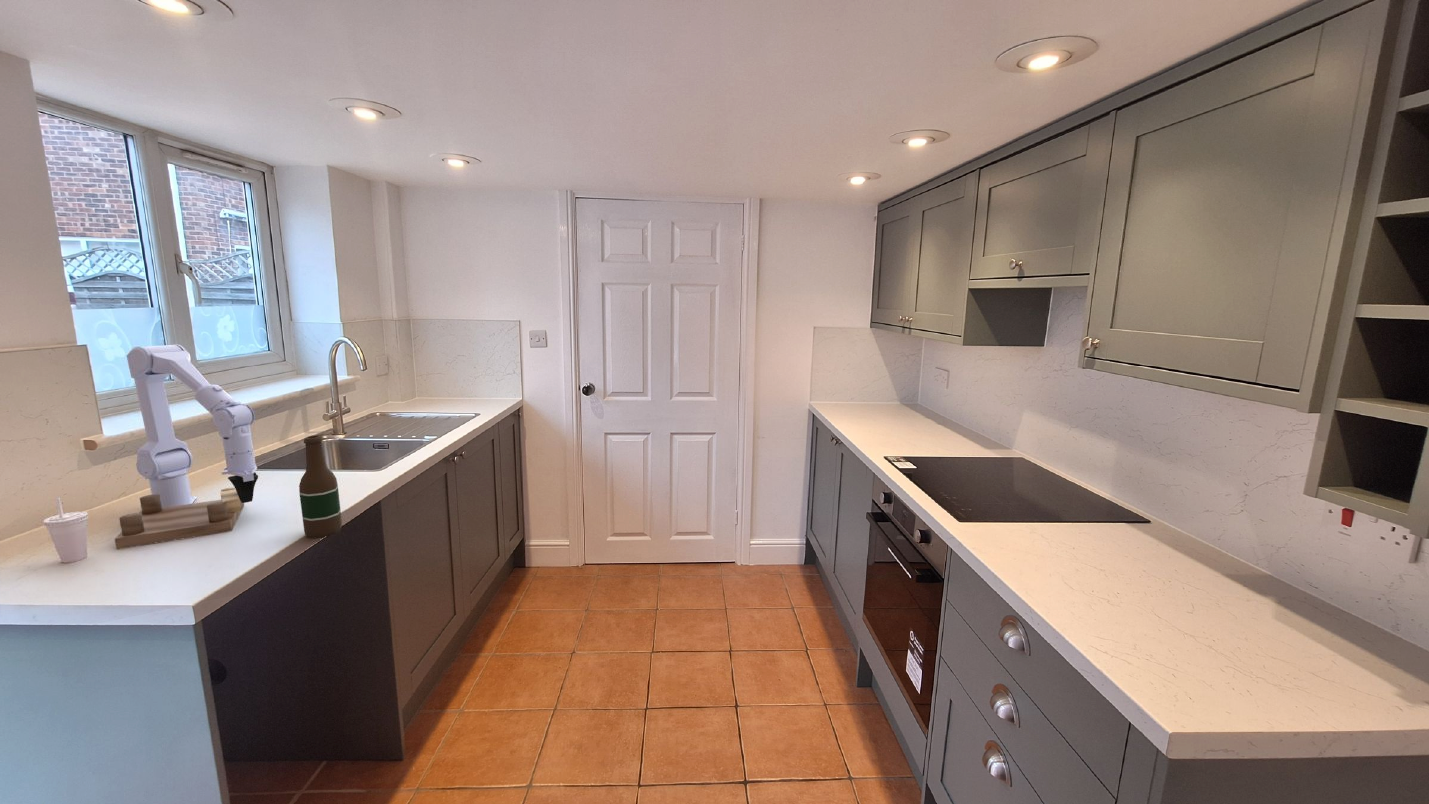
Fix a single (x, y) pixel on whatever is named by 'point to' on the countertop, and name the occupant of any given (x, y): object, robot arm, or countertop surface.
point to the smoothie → (68, 534)
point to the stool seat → (173, 521)
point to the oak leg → (231, 499)
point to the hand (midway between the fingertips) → (246, 501)
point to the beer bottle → (319, 493)
